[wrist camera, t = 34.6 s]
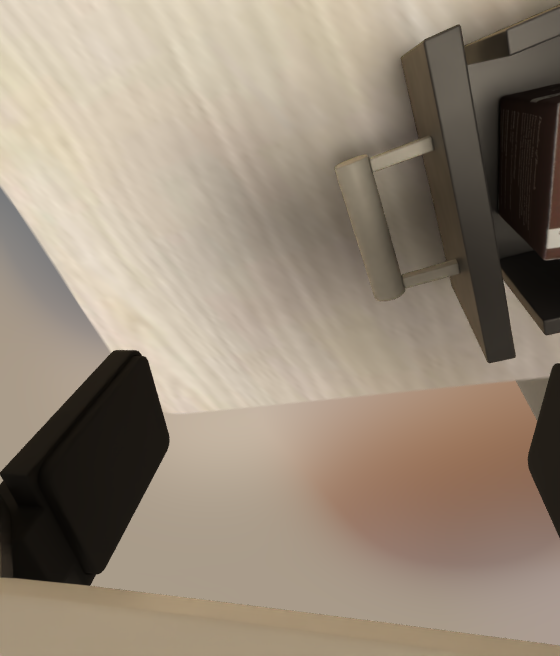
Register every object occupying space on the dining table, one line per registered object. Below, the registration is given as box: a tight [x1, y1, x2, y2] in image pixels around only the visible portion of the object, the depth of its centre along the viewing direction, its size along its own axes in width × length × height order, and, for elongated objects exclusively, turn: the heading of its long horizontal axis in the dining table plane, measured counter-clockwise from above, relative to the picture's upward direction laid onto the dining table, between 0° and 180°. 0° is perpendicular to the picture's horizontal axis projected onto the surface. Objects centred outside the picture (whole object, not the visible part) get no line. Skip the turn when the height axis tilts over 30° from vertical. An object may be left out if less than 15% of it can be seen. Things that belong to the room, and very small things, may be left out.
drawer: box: [334, 5, 560, 363], centre depth 19 cm, size 19×13×9 cm
